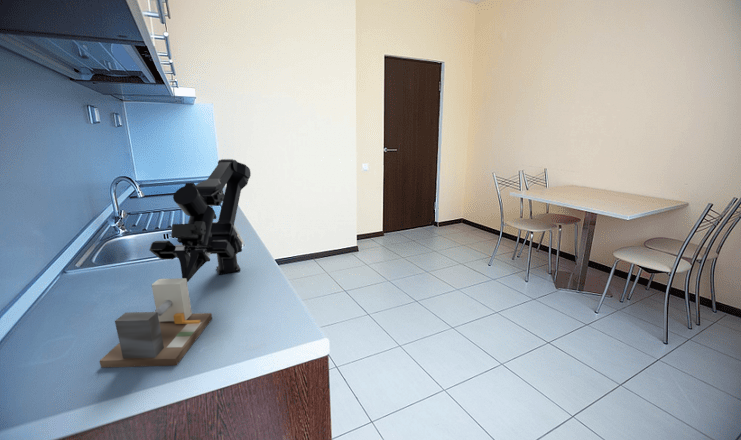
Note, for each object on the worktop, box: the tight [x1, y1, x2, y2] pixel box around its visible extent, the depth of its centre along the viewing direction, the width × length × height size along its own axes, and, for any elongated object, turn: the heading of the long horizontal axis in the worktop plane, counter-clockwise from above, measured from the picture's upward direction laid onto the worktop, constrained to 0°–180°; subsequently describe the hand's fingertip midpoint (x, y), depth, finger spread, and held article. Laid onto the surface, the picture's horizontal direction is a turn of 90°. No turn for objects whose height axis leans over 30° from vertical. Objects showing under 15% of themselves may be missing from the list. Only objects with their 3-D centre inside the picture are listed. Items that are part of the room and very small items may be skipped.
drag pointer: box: [174, 313, 201, 324], centre depth 75 cm, size 1×5×2 cm, turn 92°
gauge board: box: [99, 311, 213, 369], centre depth 71 cm, size 16×14×10 cm
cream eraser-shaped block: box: [151, 277, 193, 321], centre depth 74 cm, size 7×6×9 cm
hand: (185, 281), depth 82 cm, fingers closed
